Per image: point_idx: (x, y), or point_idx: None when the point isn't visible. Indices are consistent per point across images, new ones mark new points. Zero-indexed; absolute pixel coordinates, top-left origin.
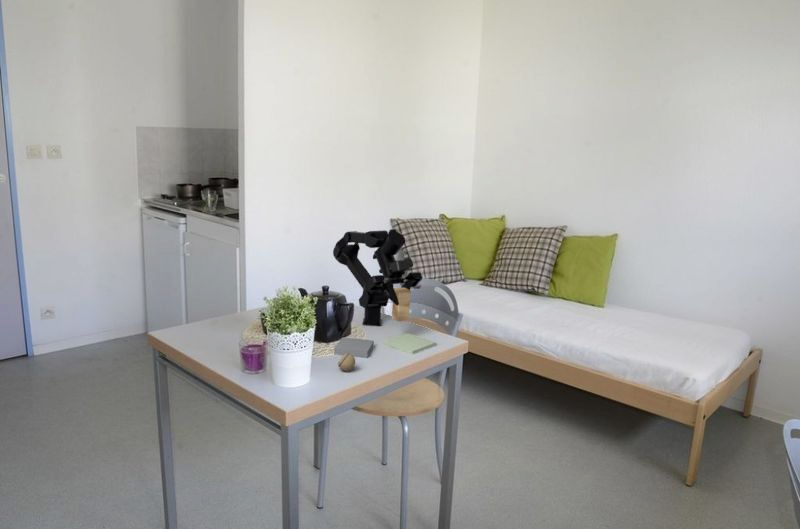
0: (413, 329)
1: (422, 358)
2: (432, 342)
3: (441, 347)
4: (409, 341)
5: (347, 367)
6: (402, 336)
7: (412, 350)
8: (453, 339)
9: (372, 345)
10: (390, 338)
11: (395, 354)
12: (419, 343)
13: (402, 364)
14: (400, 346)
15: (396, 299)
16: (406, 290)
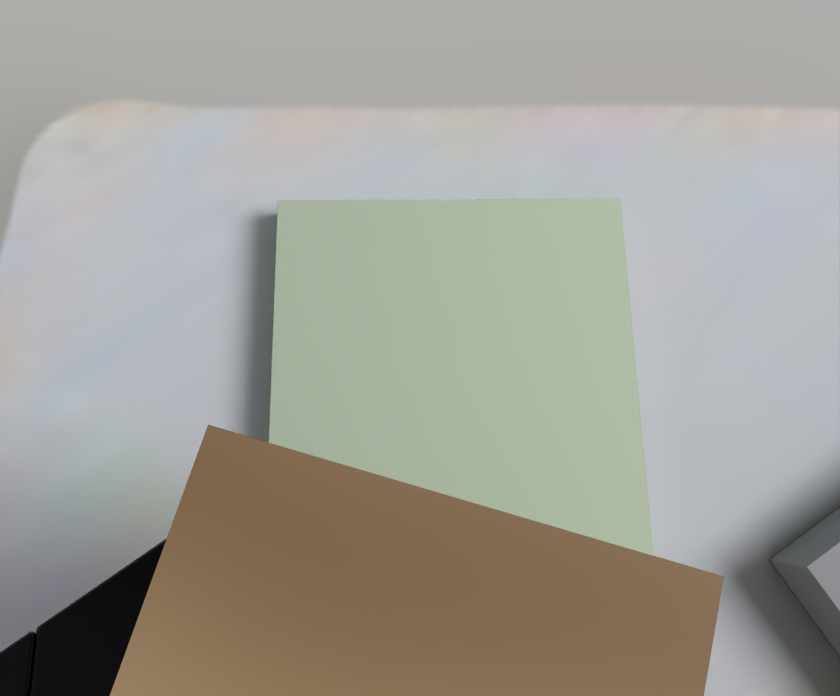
0: None
1: (611, 109)
2: (308, 219)
3: (291, 156)
4: (455, 372)
5: None
6: None
7: (609, 208)
8: (32, 206)
9: (832, 529)
10: None
11: (729, 297)
12: (423, 278)
13: (826, 129)
14: (625, 338)
15: None
16: (354, 539)
